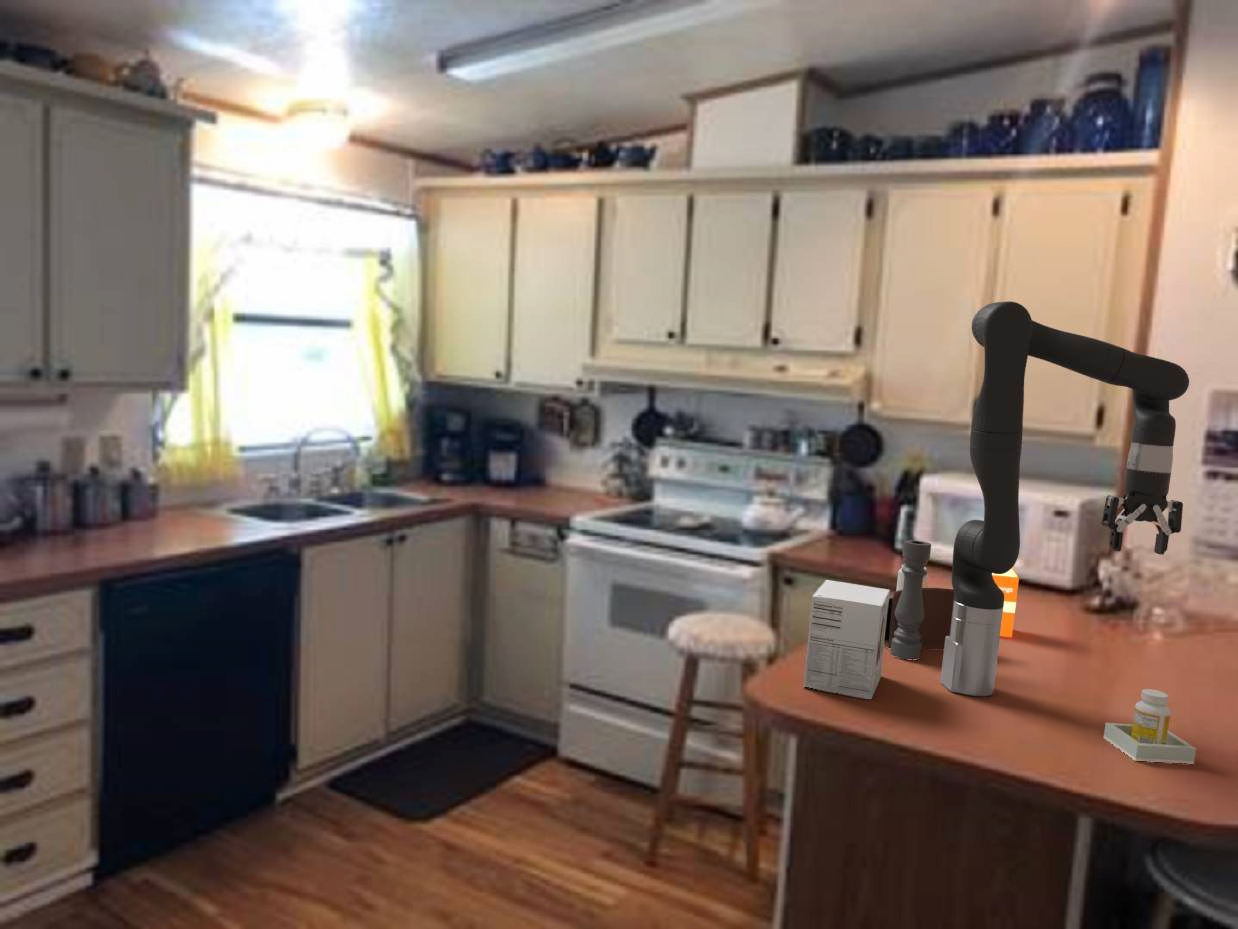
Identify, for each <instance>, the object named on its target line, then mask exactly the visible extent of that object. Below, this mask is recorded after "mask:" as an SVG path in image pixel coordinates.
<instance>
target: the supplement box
mask: <svg viewBox="0 0 1238 929" xmlns="http://www.w3.org/2000/svg"><path fill="white" fill-rule="evenodd" d="M890 595H891V590H890V589H886V588H880V587H873V586H869V585H862V584H855V583H850V582H843V581H837V580H836V581H835V580H830V579H825V580H824V581H823V583H822V584H821V585H820V586H818V588H817V589H816V591H815V592H814V594H812V597H811V606H810V616H809V626H808V636H807V637H808V638H807V647H806V648H807V650H806V657H805V658H806V659H805V669H804V678H803V680H804V681H803V688H804V687H809V688H808V689H810V688H813V689H812V690H815V689H817V691H821V690H822V691H821V692H827V693H831V694H836V693H838V694H837V695H841V694H842V696H847V697H853V698H859V699H863V700H867V699H869V700H868V701H871V700H872V698H873V696H874V693H875V691H876V689H877V687H878V685H879V683H880V680H881V678H882V671H883V670H882V669H883V668H882V666H883V655H884V648H885V646H884V638H885V629H886V620H887V611H888V604H889V598H891V597H890ZM870 699H871V700H870Z"/></svg>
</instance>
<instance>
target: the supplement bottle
mask: <svg viewBox="0 0 1238 929" xmlns="http://www.w3.org/2000/svg"><path fill="white" fill-rule="evenodd" d="M1140 698H1141V700H1140V701H1137V702H1136V704H1135V705H1134V712H1133V720H1132V724H1133V725H1132V732H1131V737H1132V738H1133V739H1135V740H1136V741H1138V742H1139V743H1146V744H1164V745H1166V739H1167V732H1168V731H1169V725H1170V718H1171V710H1170V708H1169V707H1168V706H1167V704H1168V702H1169V695H1168V693H1165V692H1163V691H1160V690H1157V689H1151V688H1145V689H1142V690H1141V695H1140Z"/></svg>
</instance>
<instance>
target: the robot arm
mask: <svg viewBox="0 0 1238 929" xmlns="http://www.w3.org/2000/svg"><path fill="white" fill-rule="evenodd" d="M971 334H972V335H973V337H974V340H975V341H976V342H977V343H978V345H980V346H981V347H983V348H984V373H983V380H982V385H981V387H980V391H979V394H978V397H977V400H976V402H975V403H976V404H975V406H974V409H973V414H972V418H971V423H970V424H971V425H970V439H969V440H970V441H969V456H970V462H971V465H972V468H973V471H974V474H975V476H976V479H977V481H978V484H979V487H980V489H981V494H982V498H983V502H984V503H983V504H984V506H983V508H984V511H983V512H984V514H983V520H981V519H971V520H969V521H966V522H964V524H962V525H961V527H960V528H959V529H958V530H957V532H956V536H955V539H954V543H953V550H952V566H951V567H952V568H951V585H952V589H953V590H954V602H953V611H952V619H951V628H950V636H946V637H945V645H944V650H943V656H942V661H941V663H942V664H941V673H940V681H939V682H940V684H942V685H943V686H944V687H945V688H946V689H948V690H949V691H950V692H951V693H958V694H963V695H968V696H974V697H986V696H991V695H993V694H994V690H995V684H996V683H995V681H996V680H995V679H996V673H997V662H998V656H999V655H998V654H999V646H1000V637H1001V636H1000V631H1001V622H1002V615H1003V607H1004V593H1003V591H1002V590H1001V589H1000V588H999V587H998V586H997V584H996V583H995V581H994V579H993V576H992V573H994V574H1004V573H1006V572H1008V571H1009V570H1010V569H1012V567H1013V568H1014V566H1015V564H1017V561H1018V558H1019V555H1020V547H1021V535H1020V534H1021V530H1020V528H1021V527H1020V511H1019V510H1020V507H1019V505H1020V504H1019V498H1020V497H1019V496H1020V494H1019V492H1020V469H1021V468H1020V467H1021V457H1022V446H1023V433H1024V432H1023V430H1024V426H1023V425H1024V421H1023V420H1024V404H1025V402H1024V401H1025V377H1026V368H1027V363H1028V358H1029V357H1033V358H1035V359H1039V360H1042V361H1045V362H1048V363H1051V364H1054V365H1056V366H1059V367H1062V368H1064V369H1067V370H1068V371H1071V372H1075V373H1077V374H1079V375H1082V376H1086V377H1088V378H1091V379H1093V380H1096V381H1097V380H1098V381H1099V382H1103V383H1106V384H1109V385H1111V386H1113V385H1114V386H1118V387H1124V388H1128V389H1132V405H1133V407H1132V408H1133V414H1134V423H1133V429H1132V434H1131V435H1132V437H1131V443H1130V448H1129V451H1128V455H1127V456H1128V457H1127V461H1126V471H1125V479H1124V486H1123V489H1124V493H1123V495H1122V497H1117V496H1115V495H1110V494H1108V495H1107V496H1106V498H1105V503H1104V507H1103V508H1104V509H1103V512H1102V513H1103V515H1102V519H1101V525H1102V526H1103V527H1106V528H1108V529H1109V530H1110V537H1109V544H1108V545H1109V547H1110V548H1111V550H1112V551H1114V552H1121V551H1122V543H1123V539H1124V538H1123V536H1124V532H1123V531H1124V530H1125V529H1127V527H1128V526H1129V525H1131V524H1132V523H1133V522H1134V521H1135V522H1147V523H1152V524H1153V525H1154V526H1155V528H1156V530H1157V532H1158V533H1156V534H1155V535H1156V536H1155V543H1154V552H1153V553H1154V554H1158V555H1161V556H1162V555H1164V554H1165V553H1166V552H1167V550H1168V547H1169V538H1170V536H1171V535H1172V534H1175V533H1176V534H1178V533H1181V531H1182V521H1183V520H1182V519H1183V508H1184V504H1183V502H1182V501H1179V500H1175V499H1171V500H1167V496H1168V494H1169V490H1170V483H1171V476H1172V468H1173V462H1174V445H1175V444H1174V443H1175V436H1176V428H1177V423H1176V422H1177V421H1176V419H1175V417H1174V416H1173V415H1171V412H1170V401H1174V400H1177V399H1179V398H1180V397H1182V396H1183V395H1184V394H1186V392H1187V391H1188V389H1189V386H1190V378H1189V375H1188V373H1187V371H1186V370H1185V369H1184V368H1183V367H1182V366H1180V365H1179V364H1177V363H1174V362H1171V361H1168V360H1165V359H1162V358H1158V357H1154V356H1151V355H1150V356H1149V355H1145V354H1140V353H1137V352H1134V351H1131V350H1129V349H1126V348H1123V347H1121V346H1120V345H1119V346H1118V345H1115V344H1112V343H1111V342H1110V343H1109V342H1106V341H1104V340H1099V339H1096V338H1094V337H1090V336H1086V335H1081V334H1077V333H1072V332H1069V331H1063V330H1060V329H1056V328H1054V327H1050V326H1048V325H1044V324H1042V323H1040V322H1037V321H1036V320H1033V319H1032V317H1031V314H1030V312H1029V311H1028V309H1027V308H1026V307H1025V306H1024V305H1023V304H1020V303H1018V302H1015V301H1007V300H1006V301H996V302H992V303H990V304H986V305H985V306H983V307H982V308H980V309H979V310H978V311H977V312H976V313H975V315H974V317H973V319H972V321H971ZM1121 506H1122V508H1123V509H1122V511H1120V513H1118V509H1119V508H1121ZM1165 510H1167V512H1168V516H1167V517H1168V518H1167V519H1166V516H1164V513H1163V512H1164V511H1165ZM1117 513H1118V514H1117Z"/></svg>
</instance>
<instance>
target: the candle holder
mask: <svg viewBox="0 0 1238 929" xmlns="http://www.w3.org/2000/svg"><path fill="white" fill-rule="evenodd" d="M931 550H932V543H930V542H926V541H922V540H918V539H917V540H915V539H906V540H903V545H902V554H901V556H902V557H903V558H902V560H903V561H904V564H905V565H906V566H905V567H904V568H902V567H901V568H902V572H903V573H904V585H903V590H902V593H901V596H900V599H899V601H898V604H897V607H896V610H895V616H896V619H897V621H898V622H899V623H898V625H899V627H898V628H897V629H896V631H895V632H894V636H895V637H894V638H893V639H892V643H891V650H890V651H889V652H890V653H891V654H890V656H891V655H893V656H897V657H899V658H902V659H912V660H913V659H918V658H920V659H921V651H922V650H921V642H920V641H919V640H920V639H921V635H920V634H919V632H918V630H917V629H918V628H919V624H921V623H922V621H923V620H924V616H925V614H924V607H923V599H922V583H923V578H924V576H925V575H927V573H928V572H926V571H927V570H925V569H924V567H926V565H927V564H928V563H929V560H930V559H931ZM893 656H892V657H893ZM902 659H901V660H902Z"/></svg>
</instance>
